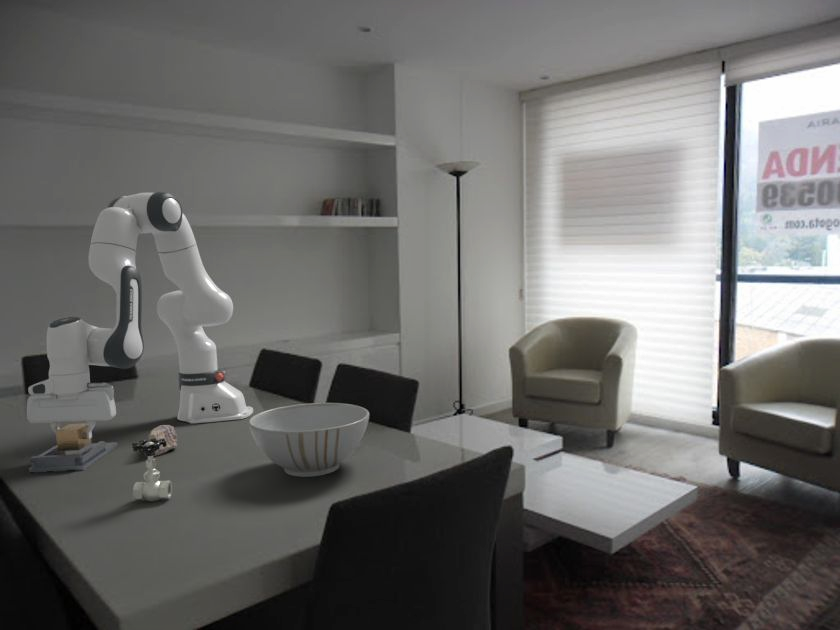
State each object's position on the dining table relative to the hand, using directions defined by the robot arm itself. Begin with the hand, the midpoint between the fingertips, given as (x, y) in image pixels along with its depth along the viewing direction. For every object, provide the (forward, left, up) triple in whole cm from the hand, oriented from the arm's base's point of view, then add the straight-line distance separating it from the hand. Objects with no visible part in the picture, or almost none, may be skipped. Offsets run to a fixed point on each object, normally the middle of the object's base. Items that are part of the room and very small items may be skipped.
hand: (74, 439), depth 166 cm
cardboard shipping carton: (0, 0, -2) cm, 2 cm away
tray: (0, 0, -5) cm, 5 cm away
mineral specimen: (-20, -3, -5) cm, 21 cm away
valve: (-30, +33, -5) cm, 45 cm away
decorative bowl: (-60, +17, -5) cm, 63 cm away
